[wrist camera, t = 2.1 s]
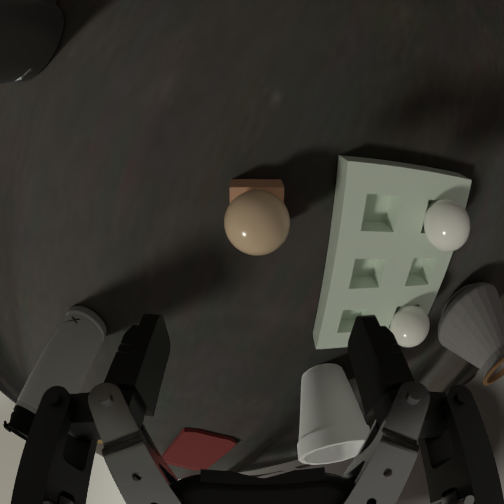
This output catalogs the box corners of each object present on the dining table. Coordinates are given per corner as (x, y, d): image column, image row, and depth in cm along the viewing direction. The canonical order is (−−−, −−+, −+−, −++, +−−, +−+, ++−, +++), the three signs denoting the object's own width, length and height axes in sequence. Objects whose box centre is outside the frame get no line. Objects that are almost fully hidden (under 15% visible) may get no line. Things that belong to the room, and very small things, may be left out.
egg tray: (338, 155, 22) (347, 161, 20) (457, 172, 22) (471, 180, 20) (312, 333, 32) (316, 349, 30) (409, 325, 32) (416, 338, 30)
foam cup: (293, 395, 40) (300, 467, 28) (287, 363, 35) (296, 450, 24) (351, 384, 39) (367, 454, 28) (355, 350, 34) (380, 432, 23)
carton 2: (187, 411, 51) (159, 450, 58) (185, 429, 46) (157, 464, 54) (238, 424, 54) (200, 460, 61) (239, 442, 49) (199, 474, 57)
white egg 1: (391, 298, 27) (408, 328, 23) (424, 295, 27) (442, 322, 23) (379, 329, 30) (392, 358, 26) (411, 325, 30) (426, 352, 26)
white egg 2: (420, 189, 21) (449, 208, 17) (455, 194, 21) (485, 213, 17) (410, 236, 24) (434, 262, 19) (444, 237, 24) (470, 261, 19)
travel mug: (74, 295, 30) (1, 422, 13) (114, 325, 32) (59, 459, 15) (63, 317, 32) (3, 428, 15) (98, 343, 34) (51, 460, 17)
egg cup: (231, 179, 23) (229, 187, 21) (281, 179, 23) (284, 187, 21) (233, 223, 25) (231, 236, 23) (279, 224, 25) (281, 236, 23)
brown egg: (226, 182, 21) (219, 202, 17) (287, 182, 21) (296, 203, 17) (228, 237, 24) (222, 268, 19) (284, 237, 24) (291, 268, 19)
